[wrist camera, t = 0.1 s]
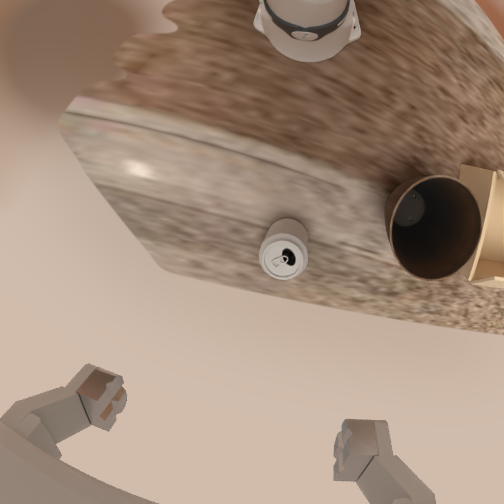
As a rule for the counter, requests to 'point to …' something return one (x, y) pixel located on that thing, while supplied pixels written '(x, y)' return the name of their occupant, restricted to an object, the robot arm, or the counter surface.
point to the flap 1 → (490, 282)
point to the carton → (486, 223)
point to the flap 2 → (501, 175)
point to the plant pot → (433, 226)
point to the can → (284, 249)
